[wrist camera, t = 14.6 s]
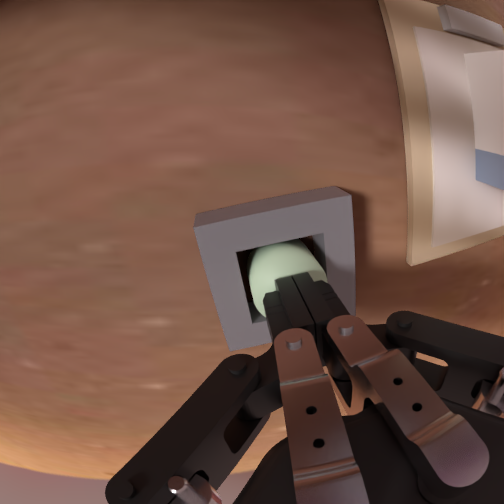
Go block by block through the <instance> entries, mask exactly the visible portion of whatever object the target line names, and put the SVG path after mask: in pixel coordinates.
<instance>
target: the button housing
mask: <svg viewBox="0 0 504 504" xmlns="http://www.w3.org/2000/svg"><path fill="white" fill-rule="evenodd" d="M193 228H194V232H195V236H196V239H197V243H198V247H199V250H200V254H201V257H202V261H203V265H204V268H205V272H206V275H207V278H208V282H209V285H210V289H211V292H212V296H213V299H214V302H215V306H216V309H217V312H218V315H219V319H220V322H221V325H222V328H223V332H224V335H225V338H226V341H227V344H228V347H229V350H230V351H234V350H238V349H243V348H248V347H253V346H257V345H262V344H266V343H271V342H272V340H271V336H270V333H269V329H268V325H267V320H266V317H264V316H263V315H262V314H261V313H260V312H259V311H258V309H257V308H256V306H255V304H254V301H252V302H248V300H247V296H246V292H245V287H244V283H243V279H242V274H241V270H240V266H239V261H238V257H237V253H236V252H238V251H243V250H247V249H252V248H256V247H261V246H265V245H270V244H274V243H279V242H283V241H288V240H293V239H297V238H302V237H306V236H311V235H312V237H313V246H314V256H315V259H316V260H317V262H318V263H319V264H320V266H321V267H322V269H323V270H324V272H325V274H326V277H327V282H328V284H330V285H331V287H332V288H333V290H334V292H335V293H336V294H337V295H338V298H340V300H341V301H342V303H343V304H344V306H345V307H346V309H347V310H348V312H349V313H350V315H353V316H355V315H356V283H355V247H354V227H353V211H352V198H351V195H350V194H349V193H347V192H345V191H343V190H341V189H340V188H338V187H336V186H331V187H325V188H320V189H314V190H309V191H303V192H298V193H293V194H288V195H283V196H278V197H273V198H268V199H263V200H258V201H253V202H249V203H244V204H239V205H235V206H230V207H225V208H221V209H216V210H212V211H208V212H203V213H199V214H196V216H195V222H194V227H193Z"/></svg>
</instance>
